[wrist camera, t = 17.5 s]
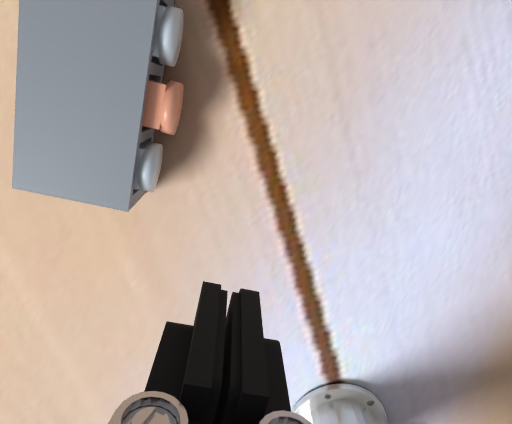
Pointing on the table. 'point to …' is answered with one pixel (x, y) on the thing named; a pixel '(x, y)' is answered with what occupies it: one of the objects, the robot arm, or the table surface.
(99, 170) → the socket block
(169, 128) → the plug terracotta
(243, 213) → the table surface
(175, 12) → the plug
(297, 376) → the table surface
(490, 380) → the table surface
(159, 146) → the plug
